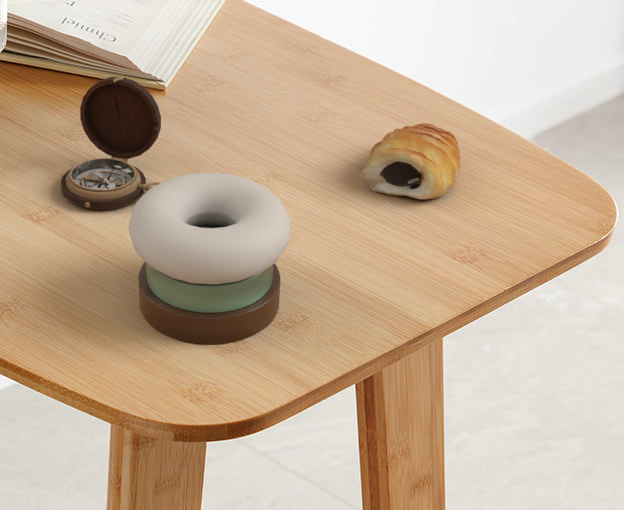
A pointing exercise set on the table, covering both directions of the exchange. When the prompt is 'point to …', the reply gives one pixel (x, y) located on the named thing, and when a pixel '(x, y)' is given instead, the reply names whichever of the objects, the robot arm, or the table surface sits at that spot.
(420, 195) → the pastry
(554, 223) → the table surface
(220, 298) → the ring stack
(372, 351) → the table surface
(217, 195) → the donut
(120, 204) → the compass
